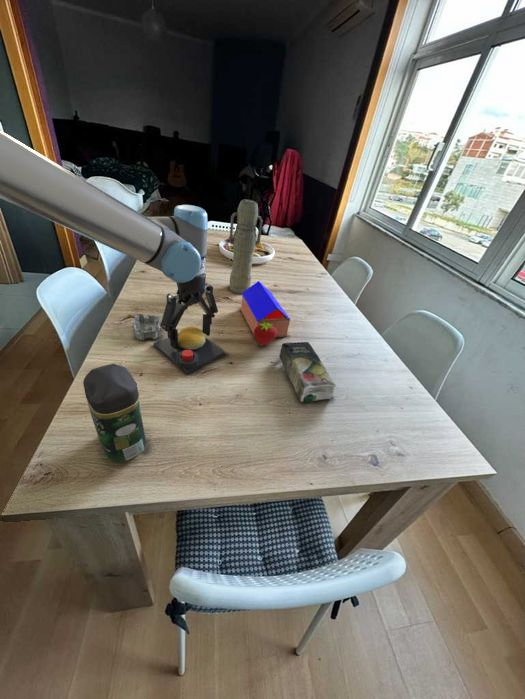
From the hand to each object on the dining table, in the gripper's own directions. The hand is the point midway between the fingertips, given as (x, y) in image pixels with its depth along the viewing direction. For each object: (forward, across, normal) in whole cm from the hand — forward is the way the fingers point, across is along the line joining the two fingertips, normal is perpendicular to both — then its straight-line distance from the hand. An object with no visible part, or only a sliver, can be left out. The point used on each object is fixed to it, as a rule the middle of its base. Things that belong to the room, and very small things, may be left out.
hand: (190, 340), depth 89 cm
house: (+2, +29, -4) cm, 29 cm away
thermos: (+2, +41, +20) cm, 46 cm away
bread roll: (+1, 0, 0) cm, 1 cm away
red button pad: (+2, -2, -2) cm, 3 cm away
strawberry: (+2, +18, -14) cm, 23 cm away
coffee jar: (+2, -32, -19) cm, 37 cm away
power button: (-1, -7, -7) cm, 10 cm away
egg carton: (+2, -6, +14) cm, 15 cm away
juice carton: (+2, +16, -32) cm, 36 cm away
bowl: (+2, +74, +48) cm, 88 cm away
